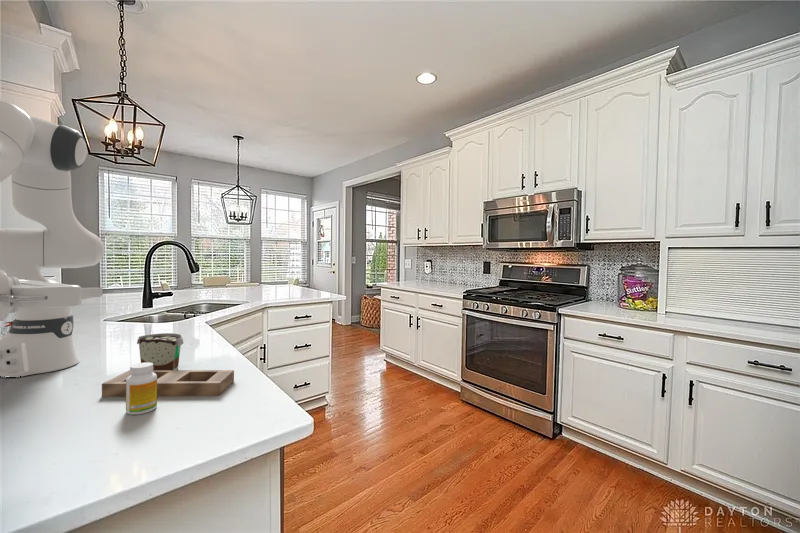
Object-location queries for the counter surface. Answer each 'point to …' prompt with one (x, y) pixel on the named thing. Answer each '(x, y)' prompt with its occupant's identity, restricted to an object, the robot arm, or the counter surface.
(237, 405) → the counter surface
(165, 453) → the counter surface
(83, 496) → the counter surface
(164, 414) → the counter surface
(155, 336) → the food container
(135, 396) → the supplement bottle
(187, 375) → the socket rail
